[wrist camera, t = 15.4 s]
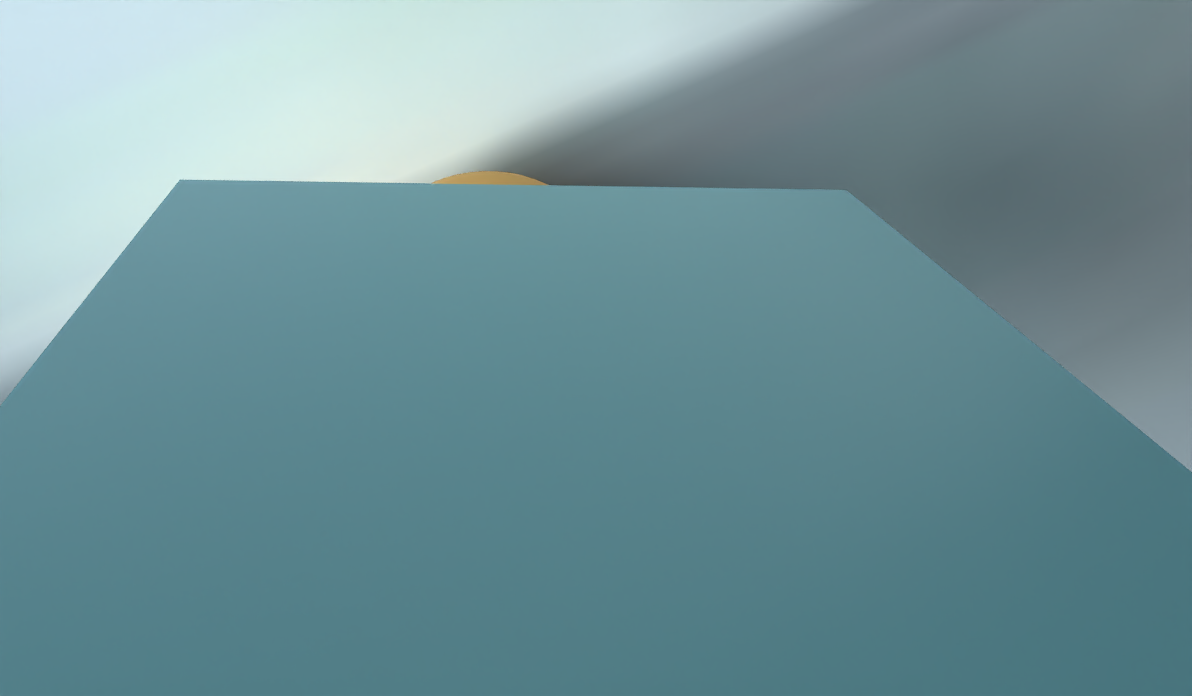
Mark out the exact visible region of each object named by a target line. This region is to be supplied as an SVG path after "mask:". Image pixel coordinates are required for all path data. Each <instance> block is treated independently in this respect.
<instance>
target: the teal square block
mask: <svg viewBox="0 0 1192 696" xmlns="http://www.w3.org/2000/svg"><path fill="white" fill-rule="evenodd" d="M0 696H1192V472H1191V471H1189V470H1188V469H1187V468H1186V467H1185V466H1183V465H1182V464H1181V463H1180V462H1178V461H1177V460H1176V459H1175V458H1174V457H1172V456H1171V455H1170V454H1169V453H1167V452H1166V451H1165V450H1164V449H1163V448H1161V447H1160V446H1159V445H1158V444H1156V443H1155V442H1154V441H1153V440H1152V439H1150V438H1149V437H1148V436H1147V435H1145V434H1144V433H1143V432H1142V431H1141V430H1139V429H1138V428H1137V427H1136V426H1134V425H1133V424H1132V423H1131V422H1130V421H1128V420H1127V419H1126V418H1125V417H1123V416H1122V415H1121V414H1120V413H1119V412H1117V411H1116V410H1115V409H1114V408H1112V407H1111V406H1110V405H1109V404H1108V403H1106V402H1105V401H1104V400H1103V399H1101V398H1100V397H1099V396H1098V395H1097V394H1095V393H1094V392H1093V391H1092V390H1090V389H1089V388H1088V387H1087V386H1086V385H1084V384H1083V383H1082V382H1081V381H1079V380H1078V379H1077V378H1076V377H1075V376H1073V375H1072V374H1071V373H1070V372H1068V371H1067V370H1066V369H1065V368H1064V367H1062V366H1061V365H1060V364H1059V363H1057V362H1056V361H1055V360H1054V359H1053V358H1051V357H1050V356H1049V355H1048V354H1046V353H1045V352H1044V351H1043V350H1042V349H1040V348H1039V347H1038V346H1037V345H1035V344H1034V343H1033V342H1032V341H1031V340H1029V339H1028V338H1027V337H1026V336H1024V335H1023V334H1022V333H1021V332H1020V331H1018V330H1017V329H1016V328H1015V327H1013V326H1012V325H1011V324H1010V323H1009V322H1007V321H1006V320H1005V319H1004V318H1002V317H1001V316H1000V315H999V314H997V313H996V312H995V311H994V310H993V309H991V308H990V307H989V306H988V305H986V304H985V303H984V302H983V301H982V300H980V299H979V298H978V297H977V296H975V295H974V294H973V293H972V292H971V291H969V290H968V289H967V288H966V287H964V286H963V285H962V284H961V283H960V282H958V281H957V280H956V279H955V278H953V277H952V276H951V275H950V274H949V273H947V272H946V271H945V270H944V269H942V268H941V267H940V266H939V265H938V264H936V263H935V262H934V261H933V260H931V259H930V258H929V257H928V256H927V255H925V254H924V253H923V252H922V251H920V250H919V249H918V248H917V247H916V246H914V245H913V244H912V243H911V242H909V241H908V240H907V239H906V238H905V237H903V236H902V235H901V234H900V233H898V232H897V231H896V230H895V229H894V228H892V227H891V226H890V225H889V224H887V223H886V222H885V221H884V220H883V219H881V218H880V217H879V216H878V215H876V214H875V213H874V212H873V211H872V210H870V209H869V208H868V207H867V206H865V205H864V204H863V203H862V202H861V201H859V200H858V199H857V198H856V197H854V196H853V195H852V194H851V193H850V192H848V191H847V190H824V189H758V188H692V187H625V186H559V185H493V184H426V183H360V182H294V181H228V180H179V182H178V183H177V184H176V185H175V187H174V188H173V189H172V190H171V192H170V193H169V194H168V195H167V197H166V198H165V199H164V201H163V202H162V203H161V204H160V206H159V207H158V208H157V209H156V211H155V212H154V213H153V214H152V216H151V217H150V218H149V219H148V221H147V222H146V223H145V224H144V226H143V227H142V228H141V229H140V231H139V232H138V233H137V235H136V236H135V237H134V238H133V240H132V241H131V242H130V243H129V245H128V246H127V247H126V248H125V250H124V251H123V252H122V253H121V255H120V256H119V257H118V258H117V260H116V261H115V262H114V263H113V265H112V266H111V267H110V269H109V270H108V271H107V272H106V274H105V275H104V276H103V277H102V279H101V280H100V281H99V282H98V284H97V285H96V286H95V287H94V289H93V290H92V291H91V292H90V294H89V295H88V296H87V297H86V299H85V300H84V301H83V303H82V304H81V305H80V306H79V308H78V309H77V310H76V311H75V313H74V314H73V315H72V316H71V318H70V319H69V320H68V321H67V323H66V324H65V325H64V326H63V328H62V329H61V330H60V331H59V333H58V334H57V335H56V337H55V338H54V339H53V340H52V342H51V343H50V344H49V345H48V347H47V348H46V349H45V350H44V352H43V353H42V354H41V355H40V357H39V358H38V359H37V360H36V362H35V363H34V364H33V366H32V367H31V368H30V369H29V371H28V372H27V373H26V374H25V376H24V377H23V378H22V379H21V381H20V382H19V383H18V384H17V386H16V387H15V388H14V389H13V391H12V392H11V393H10V394H9V396H8V397H7V398H6V400H5V401H4V402H3V403H2V405H1V406H0Z"/></svg>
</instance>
